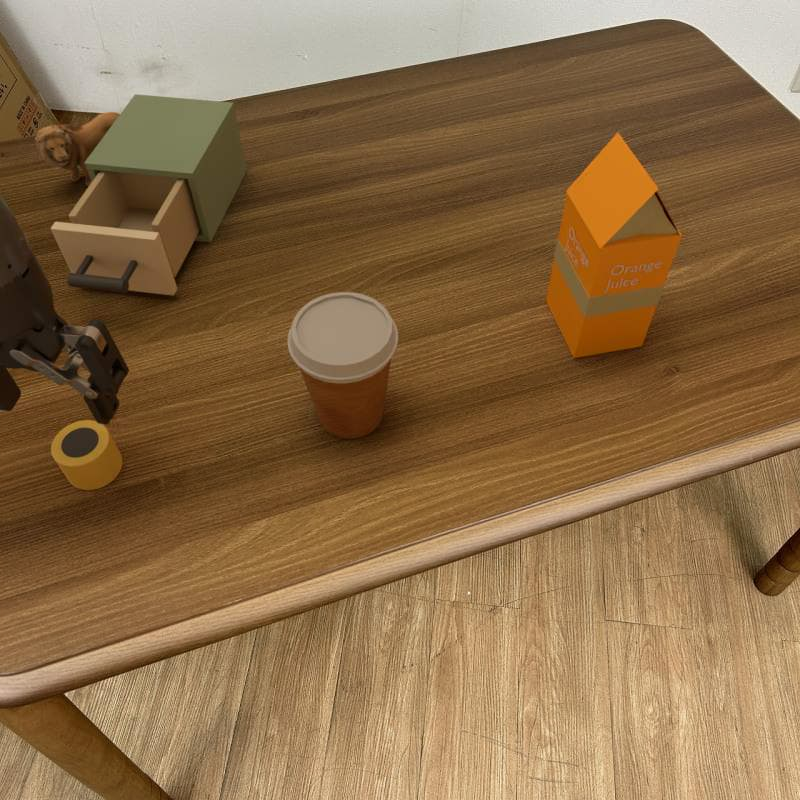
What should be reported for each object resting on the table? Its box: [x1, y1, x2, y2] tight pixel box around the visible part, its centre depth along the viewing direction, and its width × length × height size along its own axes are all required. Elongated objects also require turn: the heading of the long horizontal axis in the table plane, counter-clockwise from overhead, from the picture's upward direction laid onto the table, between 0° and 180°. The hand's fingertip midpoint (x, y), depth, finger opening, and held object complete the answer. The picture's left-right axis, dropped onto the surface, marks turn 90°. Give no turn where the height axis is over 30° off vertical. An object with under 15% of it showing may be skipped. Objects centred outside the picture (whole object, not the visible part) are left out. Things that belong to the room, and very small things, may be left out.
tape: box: [50, 419, 123, 491], centre depth 67 cm, size 5×5×4 cm
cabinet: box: [84, 93, 248, 243], centre depth 90 cm, size 15×13×10 cm
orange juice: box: [545, 132, 683, 359], centre depth 72 cm, size 8×9×20 cm
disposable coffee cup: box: [286, 291, 399, 440], centre depth 68 cm, size 10×10×12 cm
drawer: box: [50, 170, 201, 296], centre depth 82 cm, size 18×11×8 cm, turn 170°
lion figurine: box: [34, 111, 121, 187], centre depth 94 cm, size 15×5×9 cm, turn 149°
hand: (60, 409), depth 62 cm, fingers open, 8 cm apart
